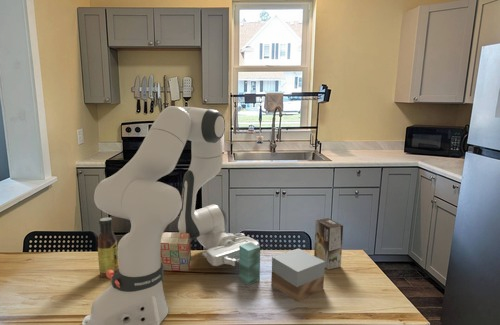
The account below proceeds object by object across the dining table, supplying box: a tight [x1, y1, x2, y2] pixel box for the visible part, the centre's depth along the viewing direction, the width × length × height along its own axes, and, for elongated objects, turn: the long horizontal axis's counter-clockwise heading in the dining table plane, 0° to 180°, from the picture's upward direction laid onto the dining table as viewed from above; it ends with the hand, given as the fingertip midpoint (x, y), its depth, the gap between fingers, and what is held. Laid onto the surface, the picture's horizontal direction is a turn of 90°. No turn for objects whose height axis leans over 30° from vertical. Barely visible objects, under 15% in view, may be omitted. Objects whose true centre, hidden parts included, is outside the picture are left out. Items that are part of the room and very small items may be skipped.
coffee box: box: [313, 217, 344, 270], centre depth 126 cm, size 9×6×16 cm
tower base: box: [270, 271, 325, 302], centre depth 110 cm, size 12×12×5 cm
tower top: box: [271, 247, 326, 287], centre depth 109 cm, size 12×12×5 cm
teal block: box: [238, 242, 261, 286], centre depth 114 cm, size 5×5×12 cm
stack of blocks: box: [161, 231, 192, 272], centre depth 120 cm, size 21×6×12 cm, turn 90°
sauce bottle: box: [96, 216, 119, 278], centre depth 116 cm, size 7×6×20 cm
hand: (246, 259), depth 115 cm, fingers open, 8 cm apart
